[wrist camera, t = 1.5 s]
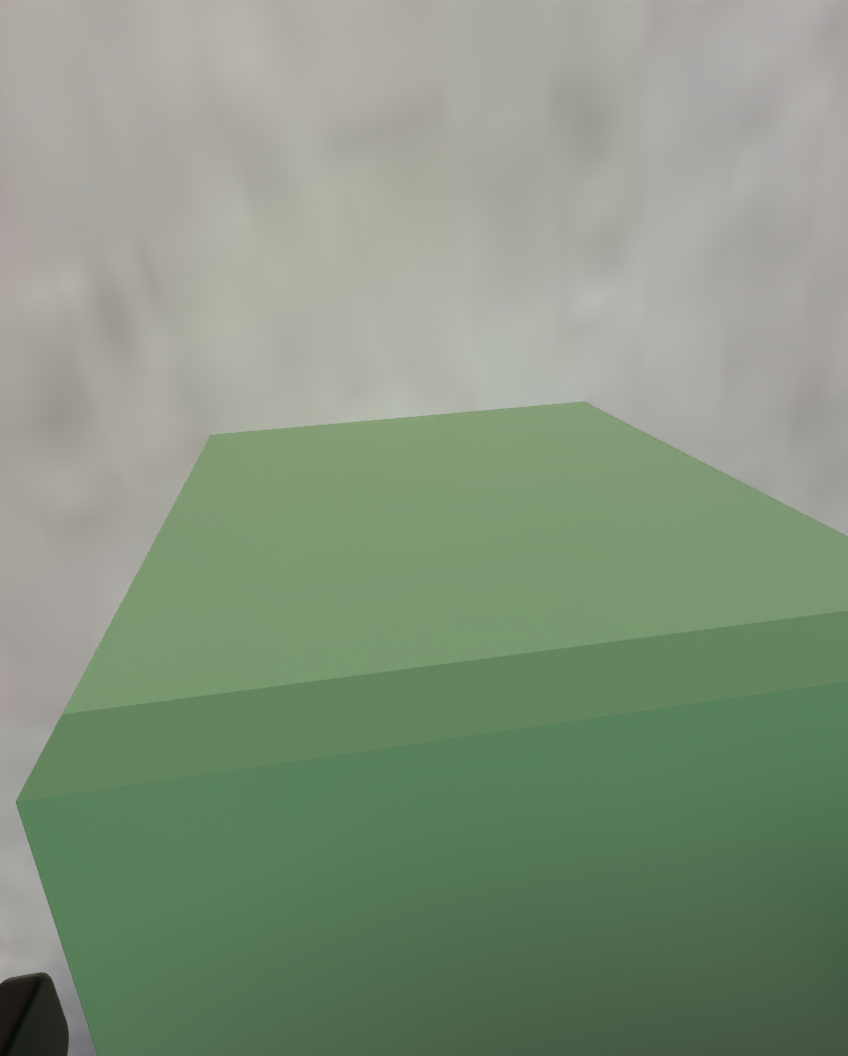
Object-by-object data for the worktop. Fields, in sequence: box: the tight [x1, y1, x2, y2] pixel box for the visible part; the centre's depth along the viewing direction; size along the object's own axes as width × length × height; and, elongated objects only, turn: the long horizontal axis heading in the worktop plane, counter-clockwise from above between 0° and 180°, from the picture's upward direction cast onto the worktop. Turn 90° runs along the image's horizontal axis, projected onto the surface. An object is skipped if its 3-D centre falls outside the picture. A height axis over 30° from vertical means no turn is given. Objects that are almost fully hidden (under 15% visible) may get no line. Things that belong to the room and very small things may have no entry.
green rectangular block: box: [16, 402, 848, 1056], centre depth 8 cm, size 5×10×7 cm, turn 3°
